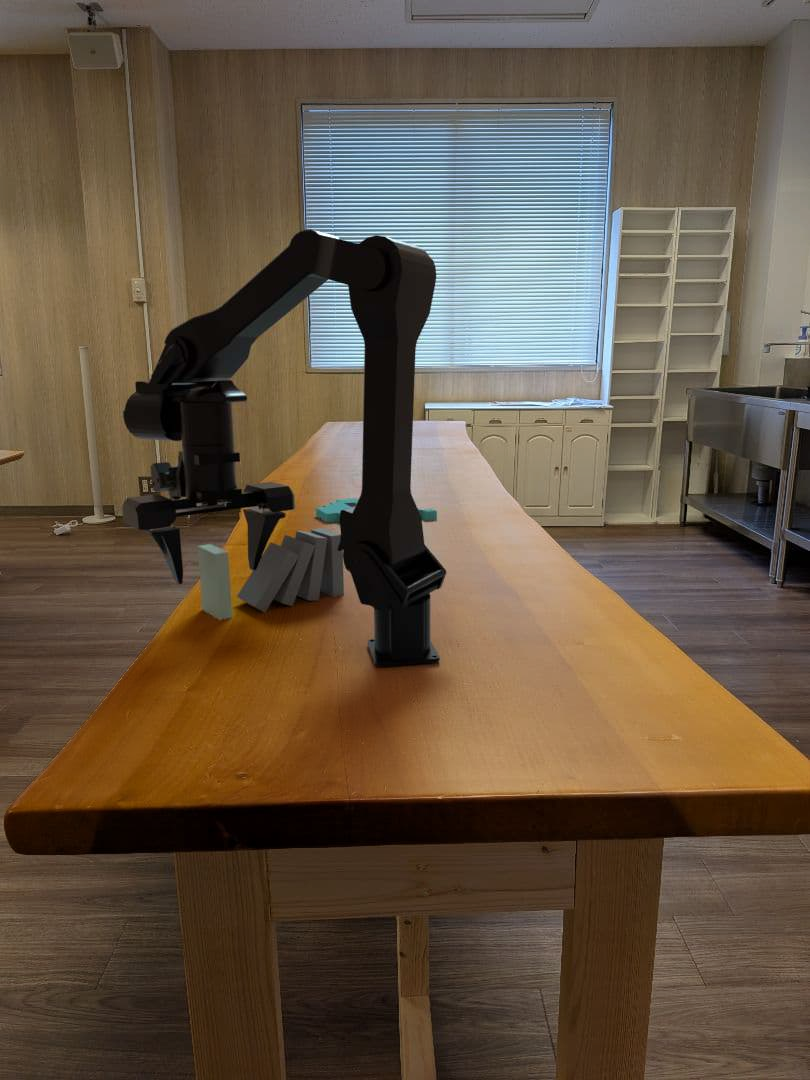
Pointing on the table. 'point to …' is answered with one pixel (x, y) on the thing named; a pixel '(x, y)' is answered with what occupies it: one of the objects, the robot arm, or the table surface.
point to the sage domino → (215, 581)
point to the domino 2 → (294, 569)
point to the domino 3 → (312, 566)
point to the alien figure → (333, 510)
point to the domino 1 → (268, 576)
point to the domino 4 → (331, 564)
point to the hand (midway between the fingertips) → (217, 576)
